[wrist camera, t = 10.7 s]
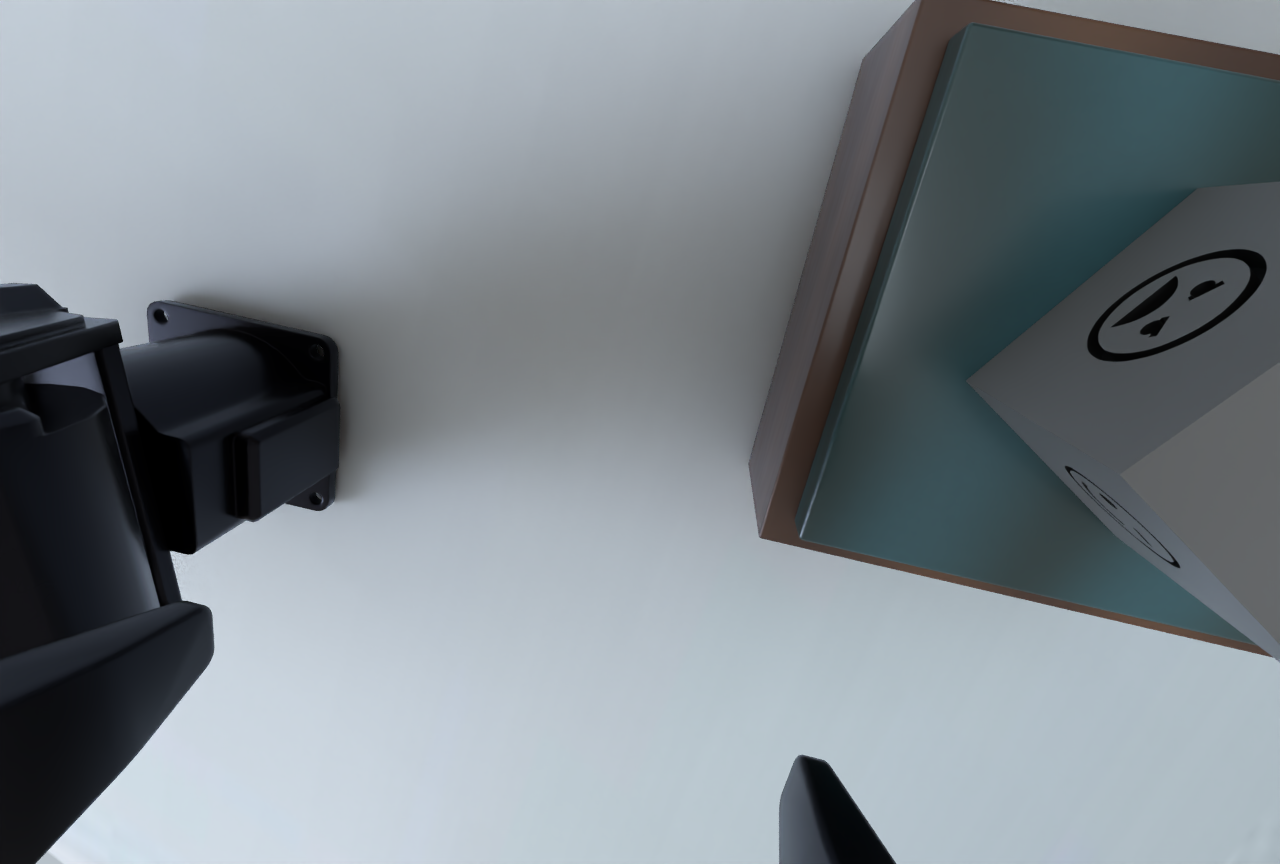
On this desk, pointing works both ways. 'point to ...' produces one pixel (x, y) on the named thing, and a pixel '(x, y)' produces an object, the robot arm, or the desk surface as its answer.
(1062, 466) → the dice cube
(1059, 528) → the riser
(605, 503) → the desk surface
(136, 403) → the robot arm
